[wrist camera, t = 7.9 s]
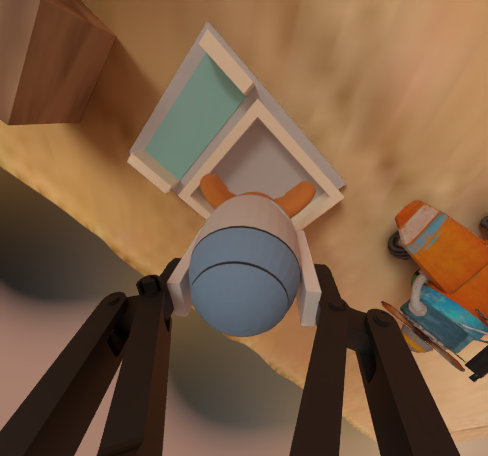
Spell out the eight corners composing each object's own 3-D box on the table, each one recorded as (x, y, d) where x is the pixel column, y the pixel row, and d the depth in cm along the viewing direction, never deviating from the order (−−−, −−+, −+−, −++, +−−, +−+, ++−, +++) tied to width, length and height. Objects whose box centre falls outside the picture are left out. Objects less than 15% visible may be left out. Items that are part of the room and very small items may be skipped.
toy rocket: (312, 156, 20) (415, 298, 8) (287, 239, 26) (324, 381, 15) (202, 147, 19) (143, 288, 7) (206, 234, 26) (178, 379, 14)
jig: (132, 151, 30) (114, 156, 26) (209, 24, 22) (198, 7, 19) (253, 254, 36) (251, 269, 32) (345, 182, 28) (355, 191, 25)
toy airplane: (303, 260, 31) (370, 335, 17) (417, 134, 28) (625, 92, 13) (417, 350, 38) (536, 460, 23) (520, 257, 34) (734, 319, 20)
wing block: (44, 93, 27) (-47, 84, 20) (76, -4, 22) (-30, -69, 15) (79, 122, 29) (7, 125, 21) (116, 36, 24) (40, -2, 16)
